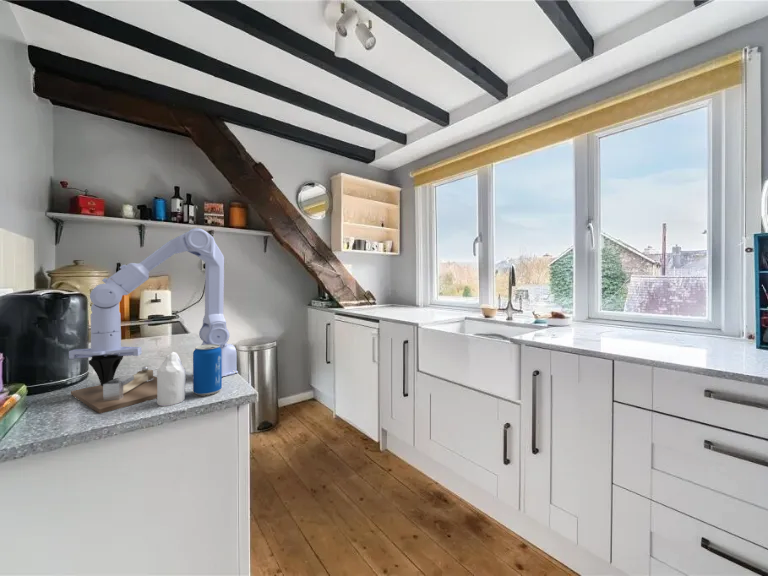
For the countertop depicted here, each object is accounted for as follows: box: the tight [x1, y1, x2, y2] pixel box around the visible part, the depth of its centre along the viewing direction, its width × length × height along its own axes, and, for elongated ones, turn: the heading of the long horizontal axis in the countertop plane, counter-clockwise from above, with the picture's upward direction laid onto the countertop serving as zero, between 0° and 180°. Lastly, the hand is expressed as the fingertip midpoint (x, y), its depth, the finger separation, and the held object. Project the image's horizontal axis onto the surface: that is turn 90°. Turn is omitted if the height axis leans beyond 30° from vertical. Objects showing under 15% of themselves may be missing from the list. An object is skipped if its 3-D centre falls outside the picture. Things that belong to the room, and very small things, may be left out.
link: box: [123, 369, 154, 394], centre depth 83 cm, size 14×4×2 cm, turn 11°
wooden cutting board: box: [70, 375, 157, 414], centre depth 81 cm, size 17×20×1 cm
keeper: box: [103, 365, 154, 401], centre depth 82 cm, size 17×4×4 cm, turn 12°
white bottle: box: [156, 351, 187, 407], centre depth 76 cm, size 6×12×6 cm
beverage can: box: [192, 344, 223, 397], centre depth 82 cm, size 6×6×12 cm
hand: (106, 385), depth 80 cm, fingers closed
